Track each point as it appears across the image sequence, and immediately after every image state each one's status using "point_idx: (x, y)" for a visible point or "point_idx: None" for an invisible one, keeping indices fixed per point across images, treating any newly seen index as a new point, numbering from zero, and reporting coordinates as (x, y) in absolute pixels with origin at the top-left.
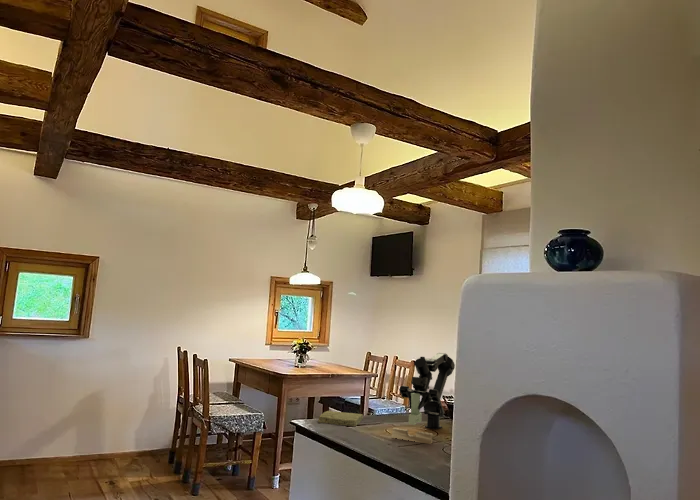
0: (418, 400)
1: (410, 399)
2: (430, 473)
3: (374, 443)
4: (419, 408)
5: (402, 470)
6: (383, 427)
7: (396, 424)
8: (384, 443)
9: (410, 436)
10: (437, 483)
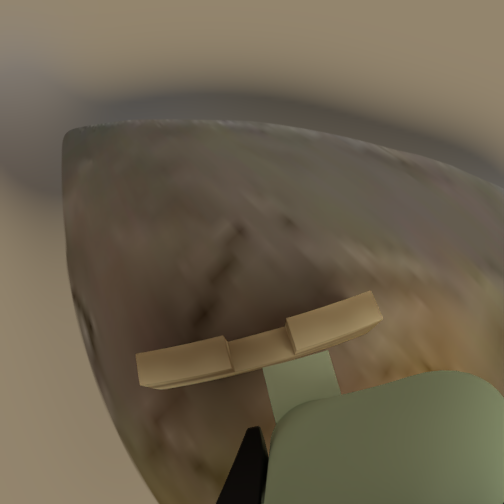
0: (269, 462)
1: None
2: (83, 145)
3: (326, 192)
4: (247, 438)
5: (131, 120)
6: None
7: None
8: (305, 216)
9: (260, 334)
10: (71, 131)
